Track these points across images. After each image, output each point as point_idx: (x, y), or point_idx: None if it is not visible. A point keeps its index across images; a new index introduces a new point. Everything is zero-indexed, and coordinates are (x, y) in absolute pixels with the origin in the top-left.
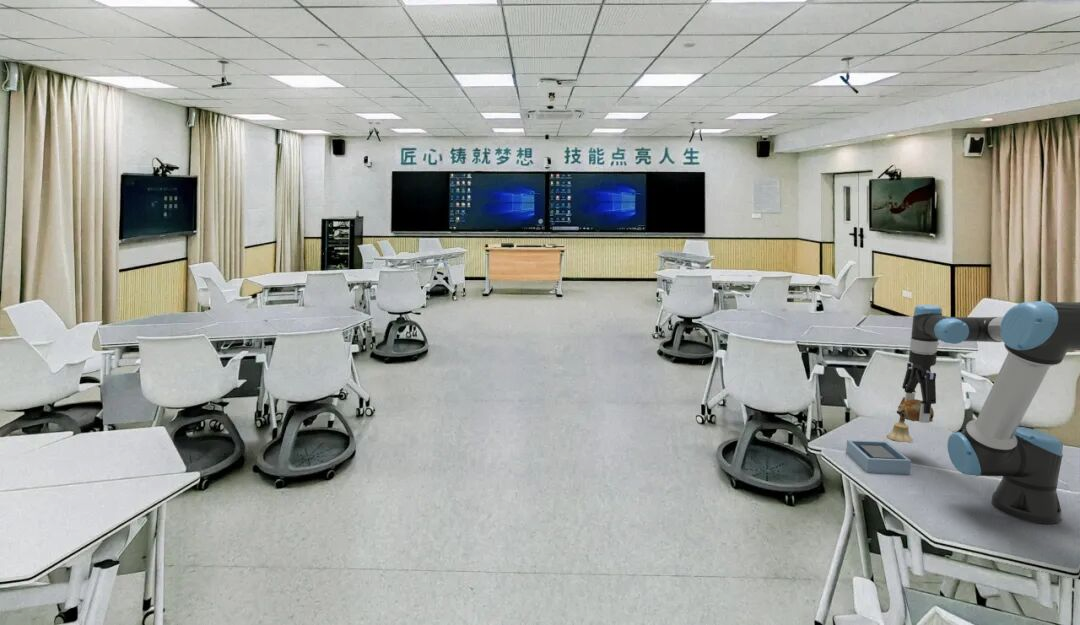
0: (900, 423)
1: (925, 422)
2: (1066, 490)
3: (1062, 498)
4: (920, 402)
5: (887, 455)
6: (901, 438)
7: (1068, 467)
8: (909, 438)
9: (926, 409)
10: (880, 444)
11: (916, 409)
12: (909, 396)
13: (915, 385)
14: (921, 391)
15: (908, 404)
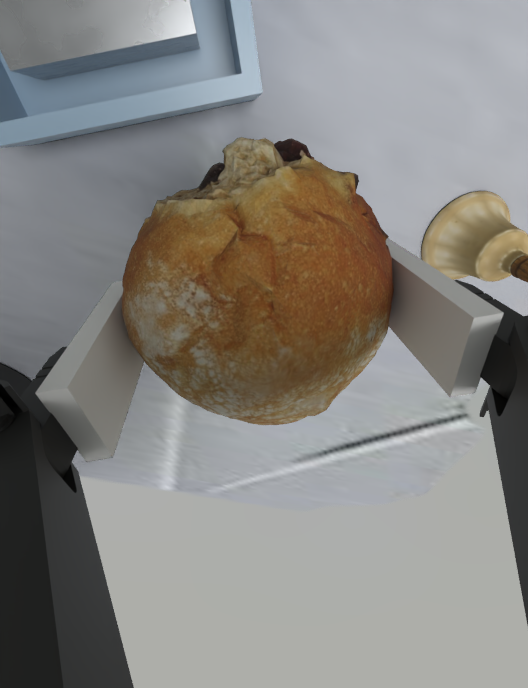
0: (506, 253)
1: None
2: (170, 486)
3: (118, 474)
4: (216, 381)
5: (23, 14)
6: (439, 237)
7: (295, 508)
8: (439, 267)
9: (41, 383)
10: (236, 42)
11: (131, 303)
12: (440, 330)
13: (512, 495)
14: (36, 545)
15: (233, 258)
